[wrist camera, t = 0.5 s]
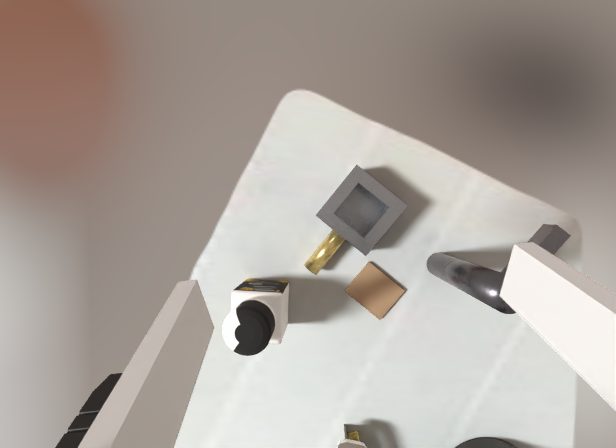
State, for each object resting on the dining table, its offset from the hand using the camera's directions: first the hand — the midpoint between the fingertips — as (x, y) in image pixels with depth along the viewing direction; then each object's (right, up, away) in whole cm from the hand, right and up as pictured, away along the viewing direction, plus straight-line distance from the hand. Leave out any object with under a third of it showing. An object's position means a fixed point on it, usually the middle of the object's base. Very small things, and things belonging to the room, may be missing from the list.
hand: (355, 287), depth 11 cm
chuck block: (+3, +2, +31) cm, 31 cm away
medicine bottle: (-9, -10, +32) cm, 35 cm away
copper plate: (+8, -8, +31) cm, 33 cm away
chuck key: (+20, -1, +30) cm, 36 cm away
